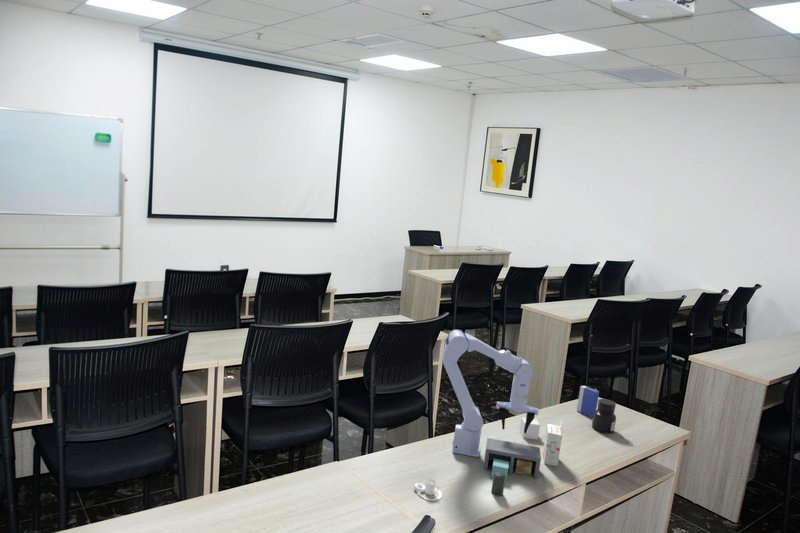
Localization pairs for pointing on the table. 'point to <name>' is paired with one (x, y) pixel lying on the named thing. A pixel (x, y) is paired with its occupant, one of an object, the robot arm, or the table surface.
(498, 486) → the block
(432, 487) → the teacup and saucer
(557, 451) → the ink cartridge box
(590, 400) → the walkman
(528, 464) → the ochre block
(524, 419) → the white cube
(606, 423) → the ink bottle
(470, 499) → the table surface
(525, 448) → the cubby shelf
